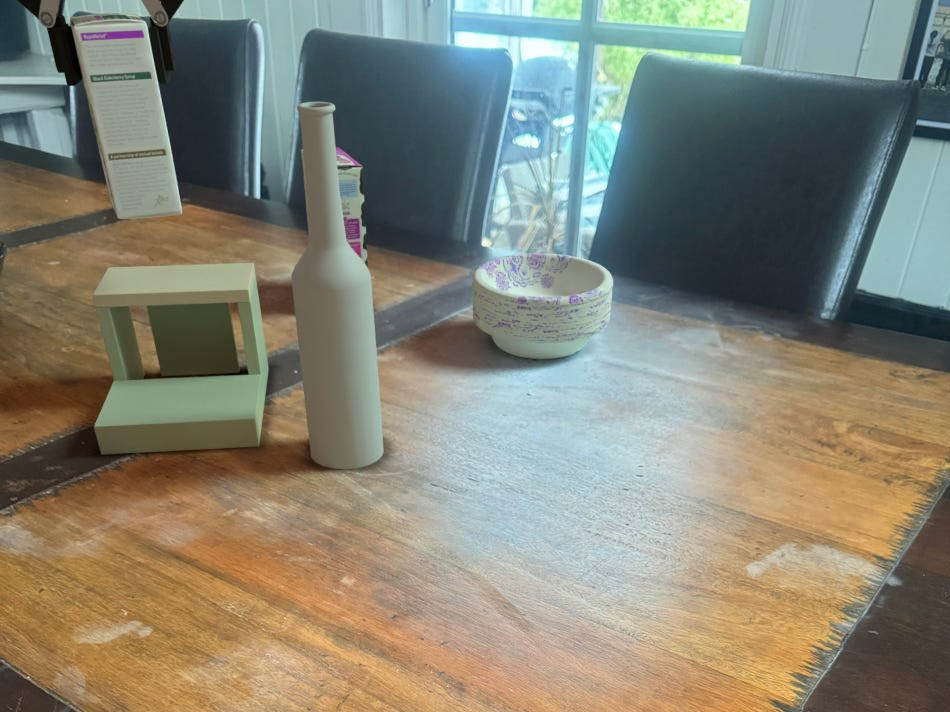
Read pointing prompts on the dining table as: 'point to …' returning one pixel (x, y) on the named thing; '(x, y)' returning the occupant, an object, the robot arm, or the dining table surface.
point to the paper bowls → (541, 303)
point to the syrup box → (127, 114)
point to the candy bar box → (349, 201)
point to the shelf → (182, 359)
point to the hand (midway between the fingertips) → (119, 80)
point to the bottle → (334, 315)
